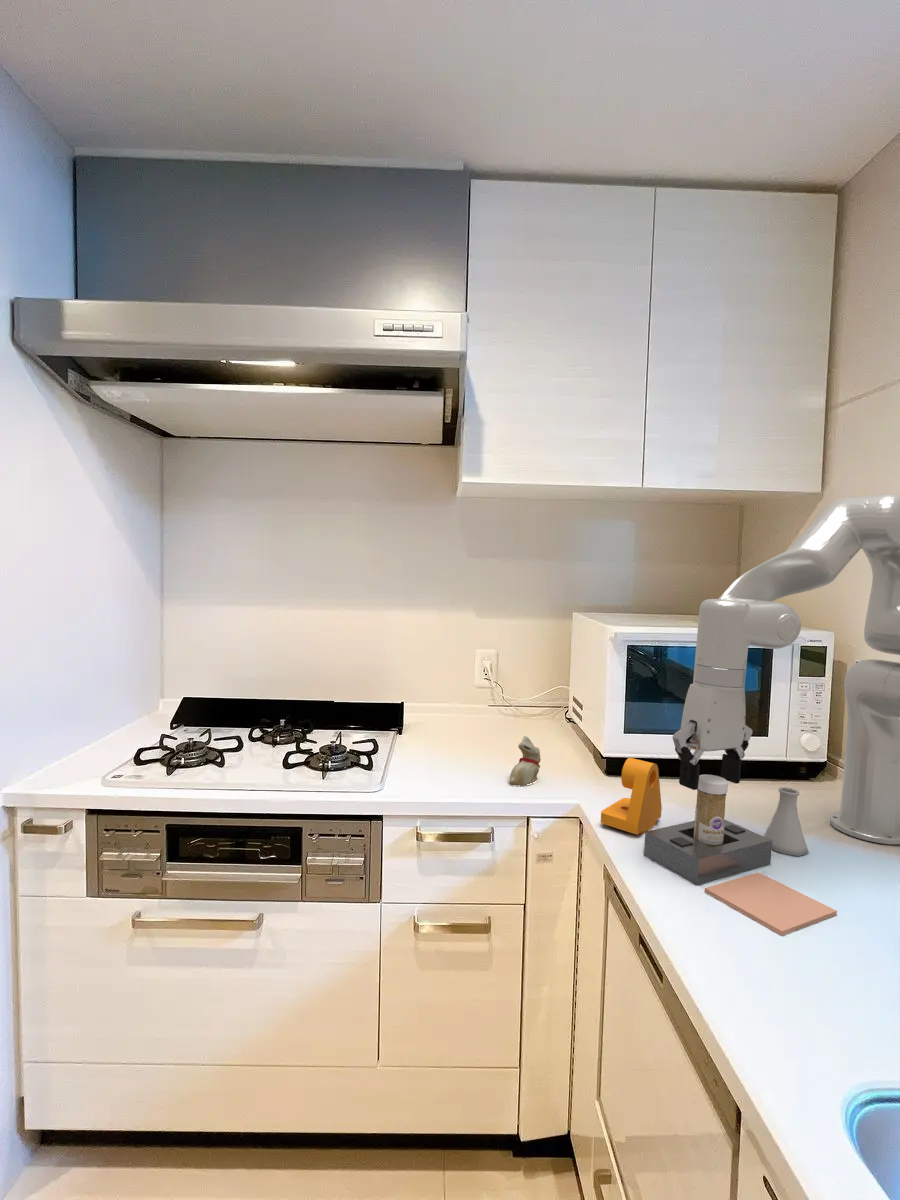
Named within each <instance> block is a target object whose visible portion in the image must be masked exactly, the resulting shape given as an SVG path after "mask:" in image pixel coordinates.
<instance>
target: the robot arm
mask: <svg viewBox="0 0 900 1200" xmlns="http://www.w3.org/2000/svg"><path fill="white" fill-rule="evenodd" d="M860 550H862V551H863V552H864V554H865V556H866V557H867V559H868V560H867V561H868V562H869V564H870V567H871V571H872V574H871V575H872V582H871V588H870V589H871V590H870V595H869V599H868V606H867V611H866V616H865V620H864V621H865V622H864V630H863V633H864V635H863V637H864V642H865V643H866V645H867V646H868V647H869V648H871V649H872V650H874V651H877V652H880V653H884V654H890V655H898V656H900V493H889V494H888V493H885V494H873V495H861V496H859V495H858V496H849V497H842V498H839V499H837V500H835V501H832V502H830V504H828V505H827V506H826V507H825V508H824V509H823V510H822V511H821V513H820V514H819V515H818V516H817V517H816V518H815V519H814V521H813V522H812V523H811V524H810V525H809V526H808V527H807V529H806V530H804V532H803V533H802V534H801V535H800V537H799V538H797V540H795V541H794V543H793V544H792V545H791V546H790V548H788V549H786V550H785V551H784V552H782V553H780V554H778V555H775V556H774V557H771V558H769V559H767V560H765V561H763V562H762V563H761V564H759V565H756V566H755V567H752V568H751V569H749V570H747V571H745V573H743V574H741V575H740V576H739V577H737V578H736V579H735V580H734V581H733V582H732V583H731V584H730V585H729V586H728V587H727V588H726V589H725V591H724V592H722V594H721V595H720V596H719V597H718V598H709V599H708V598H707V599H705V600H703V601H702V602H701V604H700V606H699V610H698V611H699V612H698V624H697V631H696V632H697V634H696V645H695V657H694V668H693V678H692V681H693V682H692V683H690V685H689V687H688V689H687V692H686V697H685V699H684V700H685V702H684V706H683V710H682V717H681V723H680V729H679V730H677V731H676V732H675V733H674V734H673V735H672V741H673V745H674V751H675V752H676V754H677V757H678V760H680V765H679V766H680V767H679V779H678V783H679V785H680V786H682V787H684V788H687V789H691V790H693V791H697V789H698V783H699V775H700V772H701V771H700V770H701V764H699V763H698V762H699V760H701V757H702V755H703V754H704V753H705V752H716V751H724V753H723V754H722V756H721V768H720V777H722V778H724V779H726V780H727V781H728V782H730V783H732V784H733V783H734V784H735V785H736V784H740V783H741V782H740V781H741V770H742V760H743V759H745V756H746V755H745V751H746V750H747V748H748V747H749V744H750V740H751V737H752V735H753V733H754V732H753V729H752V728H750V727H749V726H748V725H747V724H746V715H747V713H746V711H747V710H746V707H747V706H746V689H745V684H746V675H747V664H748V663H747V662H748V653H749V647H750V646H752V647H758V648H762V649H763V648H764V649H770V650H777V649H778V650H779V649H783V648H786V647H788V646H790V645H792V644H793V643H794V642H795V641H796V640H797V639H798V637H799V636H800V632H801V629H802V624H801V618H800V616H799V614H798V613H797V612H796V610H795V609H794V608H792V607H791V606H789V605H788V604H785V603H783V602H777V601H776V600H778V599H781V598H784V597H788V596H793V595H795V594H796V595H797V594H801V593H805V592H810V591H812V590H817V589H820V588H822V587H824V586H827V585H829V584H831V583H832V582H833V581H835V580H836V578H837V577H838V575H839V574H840V573H841V572H842V571H843V570H844V568H845V567H846V566H847V565H848V564H849V562H851V560H852V559H853V558H854V557H855V556H856V555H857V554H858V553H859V551H860ZM843 681H844V683H843V684H844V686H843V687H844V695H845V702H846V711H847V712H846V713H847V719H846V720H847V721H846V723H847V725H846V738H845V751H844V760H843V761H844V762H843V772H842V773H843V774H842V786H841V796H840V797H841V800H840V810H839V811H836V812H834V813H832V814H830V817H829V823H830V825H831V826H832V827H833V828H834V829H837V830H838V831H839V832H841V833H844V834H846V835H848V836H851V837H854V838H856V839H860V840H863V841H867V842H871V843H876V844H877V843H878V844H883V845H895V846H896V845H897V846H898V845H900V662H897V661H891V660H883V659H874V658H873V659H864V660H860V661H857V662H855V663H853V664H852V665H851V666H849V668H848V669H847V671H846V673H845V676H844V680H843ZM692 750H694V752H693V753H692V752H691V751H692Z"/></svg>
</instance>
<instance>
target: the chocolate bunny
mask: <svg viewBox="0 0 900 1200" xmlns="http://www.w3.org/2000/svg"><path fill="white" fill-rule="evenodd" d="M517 747H518V749H519V750H520V751H521V753H522V757H520V758H519V759H518V761H519V762H518V763H517V764H515V765H514V767H513V768H512V770H511V772H510V775H509V785H510V784H511V785H527V784H530V783H533V782H535V781H536V780H537V781H538V774H539V771H540V768H541V764H540V763H541V760H542V759H541V752H540V748H539V747H536V746H535V745H534V743H533V742H532V741H531V739H530V738H529V737H528V736H526V735H523V738H522V739H521V741H520V742H519V744H518V746H517ZM511 785H510V786H511Z"/></svg>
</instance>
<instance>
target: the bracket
mask: <svg viewBox="0 0 900 1200" xmlns="http://www.w3.org/2000/svg"><path fill="white" fill-rule="evenodd" d="M659 773H660V771H659V767H658V764H657V763H655V762H649V761H645V760H641V759H637V758H634V757H627V759H626V760H625V762H624V764H623V766H622V769H621V785H622V787H624V788H626V789H629V790H631V795H630V798H629V797H622V798H621V799H619V800H618V801H616V802H614V803H611V804H610V805H609V806H607V807H605V808H604V809H602V810H601V811H600V823H601V824H603V825H605V826H608V827H611V828H615V829H618V830H621V831H625V832H628V833H631V834H634V835H637V836H638V835H645V831H650V830H652V828H654V827H655V826H656V824H657V823H656V822H657V821H658V820H659V819H661V818H662V808H663V806H662V797H661V785H660V776H659V775H660V774H659Z"/></svg>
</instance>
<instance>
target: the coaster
mask: <svg viewBox="0 0 900 1200" xmlns="http://www.w3.org/2000/svg"><path fill="white" fill-rule="evenodd" d="M704 894H707V895H709V896H711V897H713V898H715V899H717V901H720V902H722V903H723V904H725V905H727V906H728V907H730V908H731V909H734V910H735V911H737V912H739V913H741V914H743V915H744V916H746V917H747V918H749V917H750V918H749V919H751V918H752V920H753V921H755V922H756V921H757V922H756V923H758V924H760V925H762V926H764V927H765V928H767V929H769V930H771V931H773V932H774V933H776V934H778V935H780V936H781V937H783V936H785V935H787V934H790V933H793V932H795V931H798V930H800V929H803V928H806V927H809V926H811V925H814V924H817V923H820V922H822V921H824V920H827V919H829V918H833V917H836V916H837V915H838V914H837V913H838V910H836V909H834V908H833V907H830V906H829V905H827V904H824V903H822V902H820V901H818V900H816V899H814V898H812V897H810V896H808V895H805V894H804V893H802V892H800V891H798V890H796V889H793V888H792V887H789V886H788V885H785V884H784V883H781V882H779V881H778V880H775V879H773V878H772V877H768V876H767V875H765V874H763V873H761V872H758V871H757V872H754V873H750V874H747V875H744V876H740V877H738V878H737V877H736V878H734V879H731V880H728V881H724V882H720V883H717V884H714V885H710V886H707V887H704Z"/></svg>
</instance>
